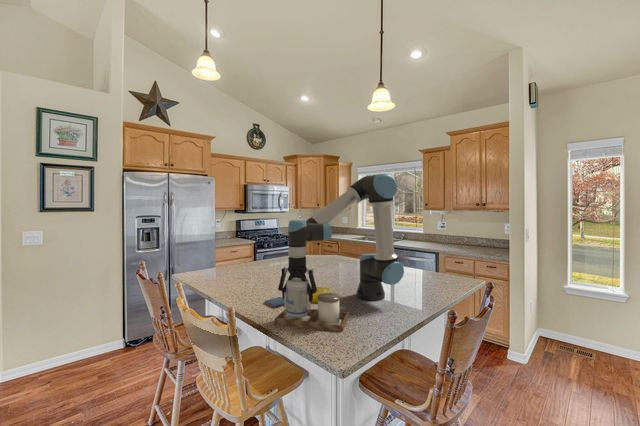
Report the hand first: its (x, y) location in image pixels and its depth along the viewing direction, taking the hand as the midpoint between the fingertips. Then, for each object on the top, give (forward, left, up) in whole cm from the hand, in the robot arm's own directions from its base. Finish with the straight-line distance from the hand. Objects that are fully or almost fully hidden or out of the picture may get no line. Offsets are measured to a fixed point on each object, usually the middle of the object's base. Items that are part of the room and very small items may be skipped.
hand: (297, 307), depth 129 cm
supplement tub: (0, 0, -3) cm, 3 cm away
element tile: (+1, -31, -6) cm, 32 cm away
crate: (-7, 0, -6) cm, 9 cm away
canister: (-14, 0, -5) cm, 15 cm away
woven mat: (+17, -18, -6) cm, 26 cm away
